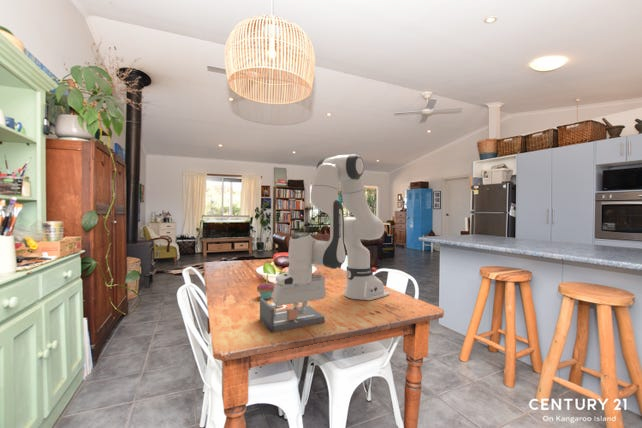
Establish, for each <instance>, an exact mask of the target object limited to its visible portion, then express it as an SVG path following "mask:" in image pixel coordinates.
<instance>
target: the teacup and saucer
mask: <svg viewBox="0 0 642 428" xmlns="http://www.w3.org/2000/svg"><path fill="white" fill-rule="evenodd" d="M273 303H274V302H273ZM274 304H275V303H274ZM275 305H276V304H275ZM282 306H283V307H281V305H280V306H277V305H276V311H280V310H285V309H287V304H286V305H282ZM280 307H281V308H280Z"/></svg>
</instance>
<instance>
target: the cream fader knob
mask: <svg viewBox="0 0 642 428" xmlns="http://www.w3.org/2000/svg"><path fill="white" fill-rule="evenodd" d="M268 304H269V305H270V306H271V307H272V308H273V309H274V315H275V314H276V311H277V310H276V309H277V308H276V305H275V304H274V302H271V303H268Z"/></svg>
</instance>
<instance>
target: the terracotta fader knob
mask: <svg viewBox="0 0 642 428" xmlns="http://www.w3.org/2000/svg"><path fill="white" fill-rule="evenodd" d="M286 309H287V319H288V320H295V319H297V309H296V308H295V307H294V306H292V307H286Z"/></svg>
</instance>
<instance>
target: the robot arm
mask: <svg viewBox="0 0 642 428" xmlns="http://www.w3.org/2000/svg"><path fill="white" fill-rule="evenodd" d="M364 170H365V165H364V160H363V158H362V157H361V156H360V155H359V154H355V153H350V154H338V155H335V156H331V157H324V158H322V159H320V160H319V161H318V162H317V165H316V171H315V172H314V173H315V174H314V176H313V180H312V185H311V189H310V201H311V203H312V205H313V207H315V208H316V209H317V210H318V211H321V212H322V213H325V214H326V215H328V218H329V220H330V221H329V222H330V223H329V231H330V232H329V234H330V235H329V240H319V239H316V238H314V237H312V236H311V233H309V232H306V231H305V232H296V233H293V234H292V235H291V236H290V237H289V242H288V255H287V256H288V260H289V265H288V270H287V271H285V272H283V273H281V274H279V275H277V276H276V277H275V282H276V283H275V284H274V291H273V293H272V303H275V304H276V305H277V306H280V307H281V306H283V305H286V306H287V305H291V304H292V305H293V306H292V307H295V308H296V309H297V314H303V313H304V309H305V307H306V306H308V302H311V301H317V300H323V299H325V297H326V295H327V294H326V293H327V292H326V286H325V282H326V277H325V276H324V275H322V274H313V266H312V265H314V266H320V267H326V268H329V269H334V270H335V269H338V268H339V267H341V266H342V265H343V264H344V263H345V260H346V259H347V266H346V284H345V290H344V294H343V295H344V296H345V297H347V299H348V298H349V299H353V300H361V301H362V300H363V301H373V300H376V299H379V298H383V297H387V296H389V291H387V290H385V286H384V283H383V282H382V280H380V278H378V277H377V276H376V275H374V273H376V272H377V267H371V253H370V252H371V251H370V250H369V249H368V248H367V247H366V246H365V245H363V244H362V242H361V241H362V240H367V241H372V240H378V239H379V240H380V239H381V237H383V236H384V233H385V223H384V222H383V221H382V219H381V218H379V217H377V216H376V215H375V214H374V213H373V211H372V210H371V207H370V206H369V203H368V201H367V196H366V190H365V183H364V179H363V176H362V175H363V174H364V172H365V171H364ZM339 188H340V190H341V197H342V202H341V201H340V200H339ZM344 209H345V210H347V212H350V213H351V214H352V215H353V216H345V214H344V212H345V211H344ZM346 255H347V258H346ZM373 272H374V273H373ZM299 303H302V304H301V306H300V307H301V308H298V307H299Z"/></svg>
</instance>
